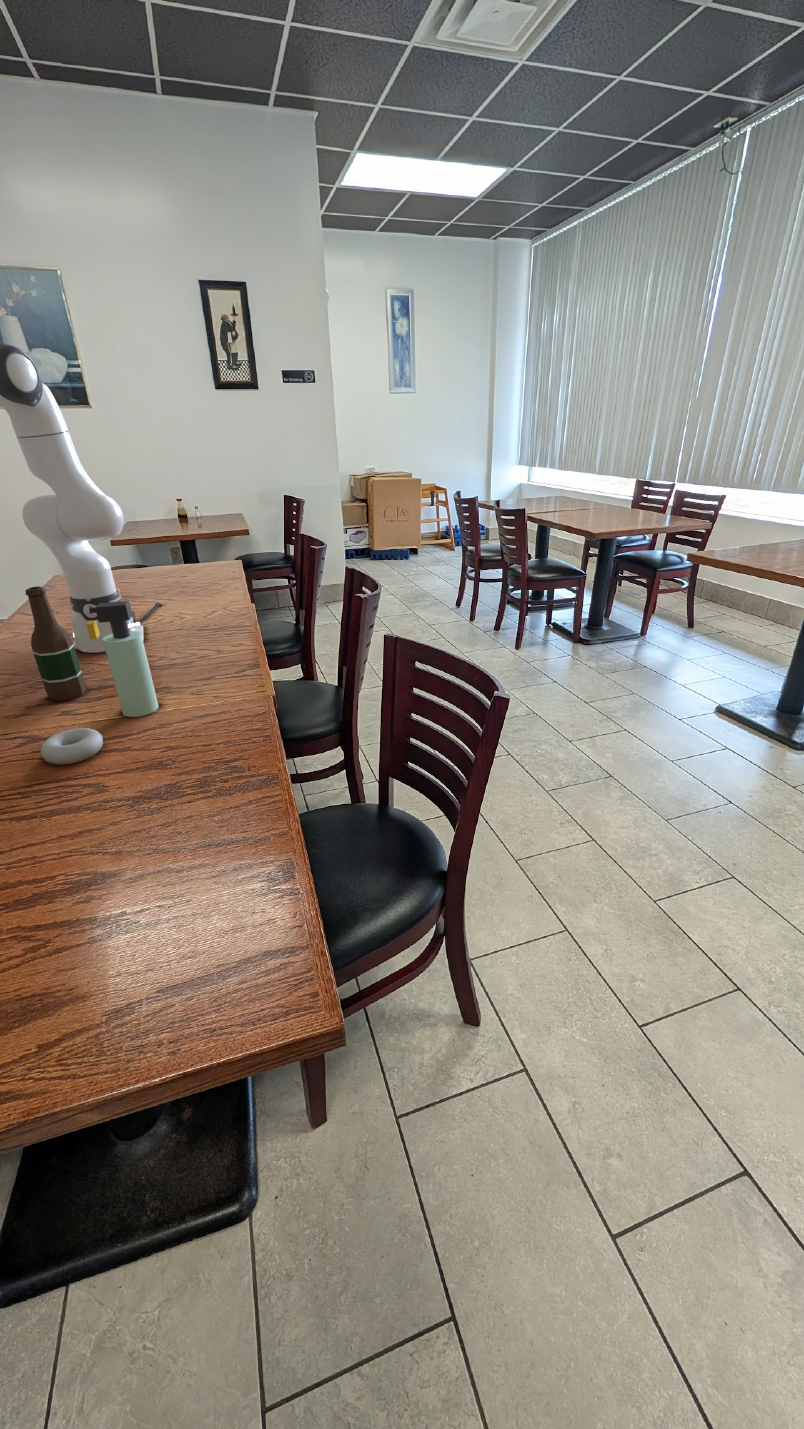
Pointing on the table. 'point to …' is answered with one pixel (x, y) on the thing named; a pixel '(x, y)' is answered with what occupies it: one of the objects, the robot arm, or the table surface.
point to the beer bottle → (54, 651)
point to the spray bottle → (127, 660)
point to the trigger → (93, 629)
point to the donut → (71, 746)
